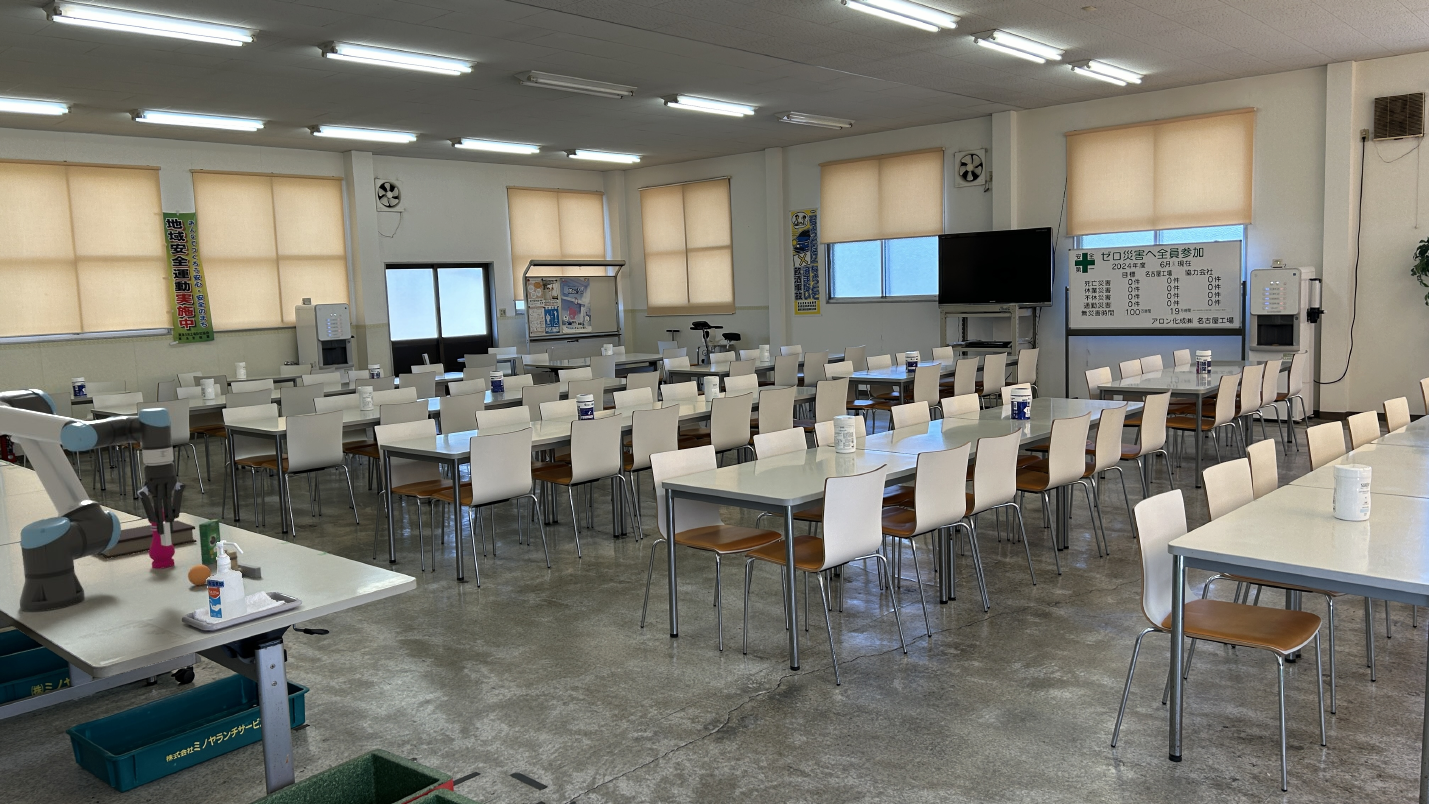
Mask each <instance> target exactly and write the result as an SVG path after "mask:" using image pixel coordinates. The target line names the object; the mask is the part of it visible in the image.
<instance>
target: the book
mask: <svg viewBox="0 0 1429 804" xmlns="http://www.w3.org/2000/svg"><path fill="white" fill-rule="evenodd" d="M150 526H151V524H149V525H143V526H138V527H137V526H136V527H130V528H126V529H125V528H124V529H121V534H120V538H119V540H118V542H117V543H116V545H115V546H114V547H112V548H111V549H108V550H106V551H103V552H102V553H98V554H99V555H98V554H97V555H98V556H100V555H101V557H103V558H105V559H107V558H108V559H112V558H111V557H114V558H118V556H119V557H123V555H124V556H128V554H129V555H134V554H133V553H135V554H139V553H138V552H140V553H143V551H145V552H149V551H148V550H150V546H151V544H152V540H153V532H152V530H151V527H150ZM193 530H196V526H194V525H191V524H189V523H186V522H184V521H180V520H177V519H175V520H174V522H173V532H172V533H171V543H172V544H173V546H174V547H176V546H181V545H187V544H192V543H197V539H194V534H193ZM186 543H187V544H186Z"/></svg>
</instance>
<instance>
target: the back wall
mask: <svg viewBox="0 0 1429 804" xmlns="http://www.w3.org/2000/svg"><path fill="white" fill-rule="evenodd" d="M237 562H238V568H241V569H242V571H243V575H242V576H246V577H250V578H255V579H259V578H261V577H262V570H261V568H262V567H261V566H257V565H252V564H248V563H244V562H239V561H237Z"/></svg>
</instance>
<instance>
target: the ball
mask: <svg viewBox="0 0 1429 804" xmlns="http://www.w3.org/2000/svg"><path fill="white" fill-rule="evenodd" d="M210 576H212V572H211V570H210V568H209V567H208V566H206V564H204V565H203V564H196V565H193V566H192V567H190V569H189V571H188V573H187V578H188V581H189V582H190V583H191V584H193V585H194V586H203V585H205V584H207V583H206V579H207V578H208V577H210ZM210 578H211V577H210Z"/></svg>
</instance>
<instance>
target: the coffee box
mask: <svg viewBox="0 0 1429 804" xmlns="http://www.w3.org/2000/svg"><path fill="white" fill-rule="evenodd" d="M220 530H221V529H220V519H210V520H207V521H206V522H205V521H204V522H202V523H200V524H198V531H199V539H200V540H199V542H200V553H201V554H200V555H201V565H211V564H213V563H215V562H216V557H217V548H216V543H217V542H220V541H221V531H220Z"/></svg>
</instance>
